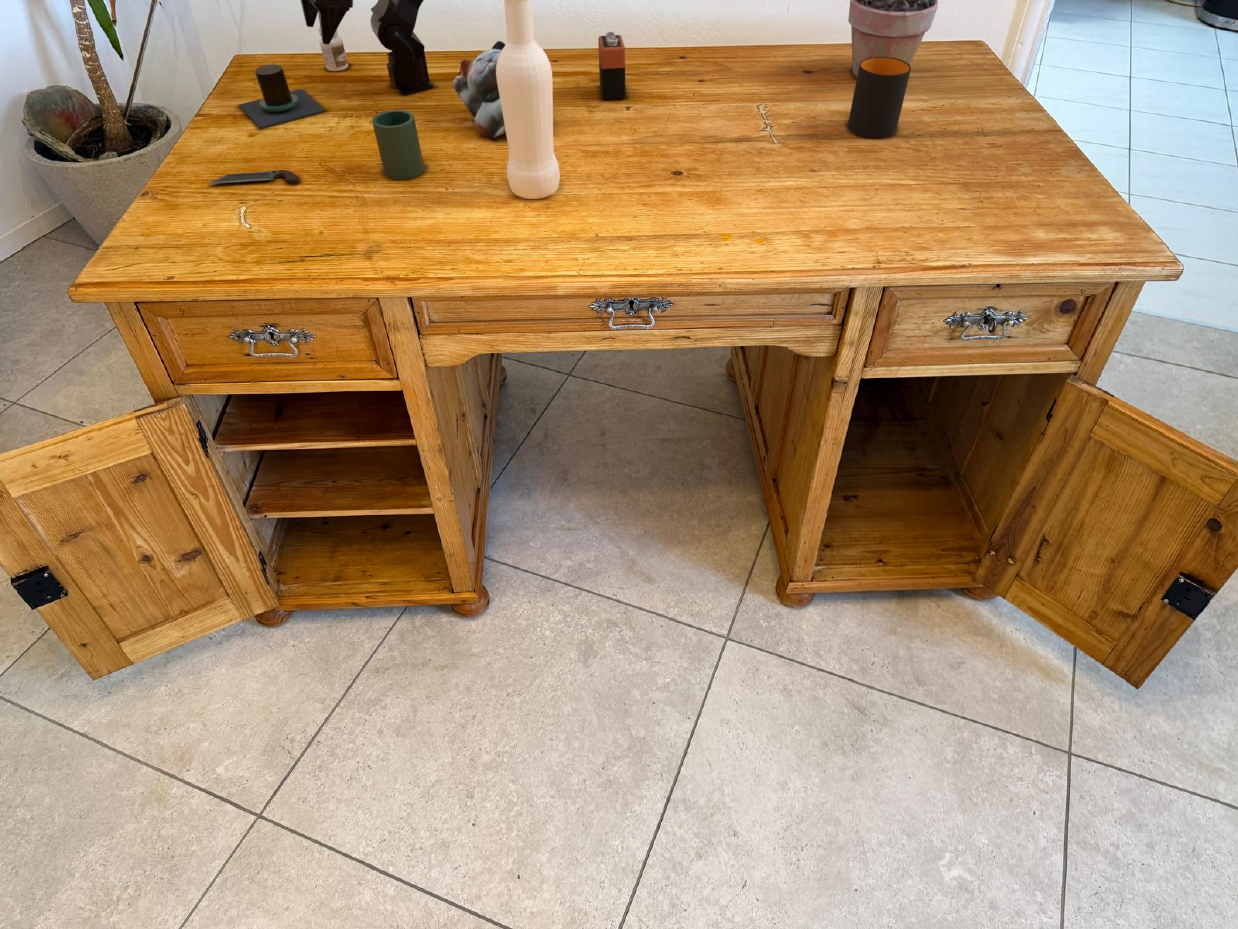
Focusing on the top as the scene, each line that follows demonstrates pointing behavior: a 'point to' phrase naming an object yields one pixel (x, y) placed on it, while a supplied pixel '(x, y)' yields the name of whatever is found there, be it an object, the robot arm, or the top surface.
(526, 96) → the bottle
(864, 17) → the potted plant
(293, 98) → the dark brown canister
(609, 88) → the battery
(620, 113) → the top surface
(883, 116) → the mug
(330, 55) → the pill bottle
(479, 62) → the lucky cat figurine
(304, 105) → the mat
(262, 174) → the knife
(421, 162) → the can
